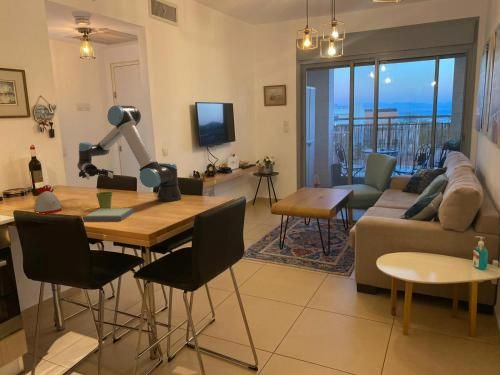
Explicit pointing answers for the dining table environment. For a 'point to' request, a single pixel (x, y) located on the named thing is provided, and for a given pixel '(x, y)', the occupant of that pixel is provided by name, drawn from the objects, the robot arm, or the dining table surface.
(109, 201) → the plant pot
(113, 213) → the stand
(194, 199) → the dining table surface
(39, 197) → the grey dome
